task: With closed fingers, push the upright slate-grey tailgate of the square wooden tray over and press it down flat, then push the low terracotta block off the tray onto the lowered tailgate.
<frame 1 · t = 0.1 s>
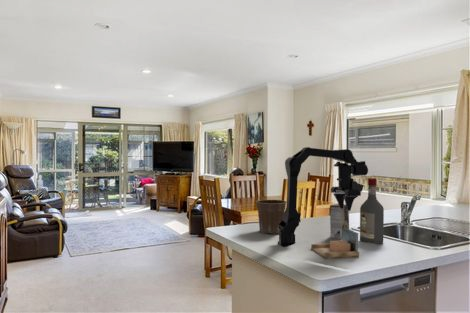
hand: (345, 209, 164), 15 cm above the worktop, fingers open, 7 cm apart
plant pot: (270, 232, 185), on the worktop
square wooden tray: (332, 255, 143), on the worktop
liquor: (371, 242, 165), on the worktop
coffee box: (340, 238, 173), on the worktop, touching gripper
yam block: (339, 251, 144), point 2 cm above the worktop, touching square wooden tray
tailgate: (350, 241, 145), point 5 cm above the worktop, hinge at 90.0°
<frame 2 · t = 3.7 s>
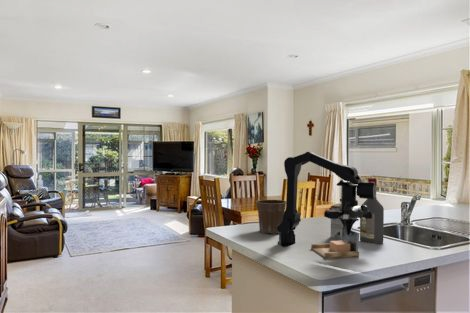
hand: (347, 235, 144), 8 cm above the worktop, fingers closed
coffee box: (339, 238, 173), on the worktop
tailgate: (350, 241, 145), point 5 cm above the worktop, hinge at 87.0°, touching gripper
everything else where it was.
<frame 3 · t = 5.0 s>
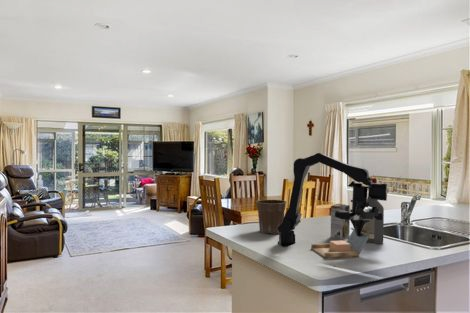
hand: (357, 235, 145), 8 cm above the worktop, fingers closed, pressing on tailgate
tailgate: (355, 243, 145), point 5 cm above the worktop, hinge at 57.7°, touching gripper
everything else where it was.
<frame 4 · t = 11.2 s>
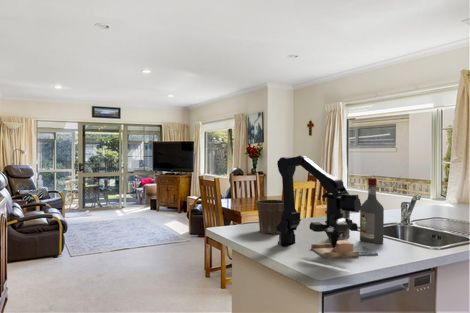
hand: (333, 247, 143), 3 cm above the worktop, fingers closed
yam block: (342, 250, 144), point 2 cm above the worktop, touching gripper, square wooden tray
tailgate: (359, 251, 145), point 1 cm above the worktop, hinge at 2.0°
everything else where it was.
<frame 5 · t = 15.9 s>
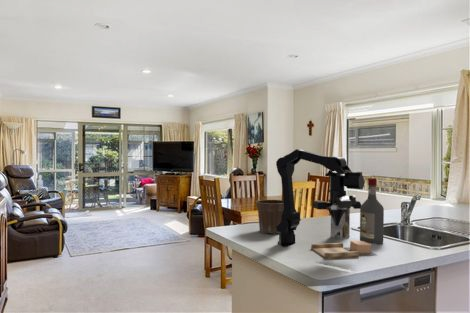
hand: (336, 225, 143), 12 cm above the worktop, fingers closed
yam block: (360, 251, 145), point 1 cm above the worktop, touching tailgate
tailgate: (359, 252, 145), point 1 cm above the worktop, hinge at -2.9°, touching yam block
everything else where it was.
at the end: tailgate at -3° (first picture: +90°); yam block inside the target area (1.0 cm from its centre), point 1.2 cm above the worktop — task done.
